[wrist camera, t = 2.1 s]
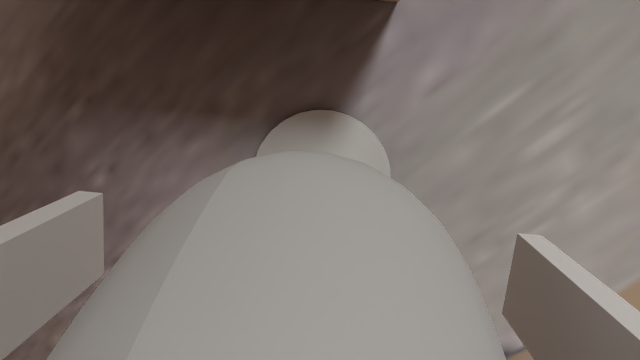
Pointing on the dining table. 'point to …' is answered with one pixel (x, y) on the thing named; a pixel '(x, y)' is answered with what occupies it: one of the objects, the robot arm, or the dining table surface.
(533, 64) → the dining table surface
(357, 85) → the dining table surface
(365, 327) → the wineglass
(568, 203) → the dining table surface
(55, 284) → the robot arm
